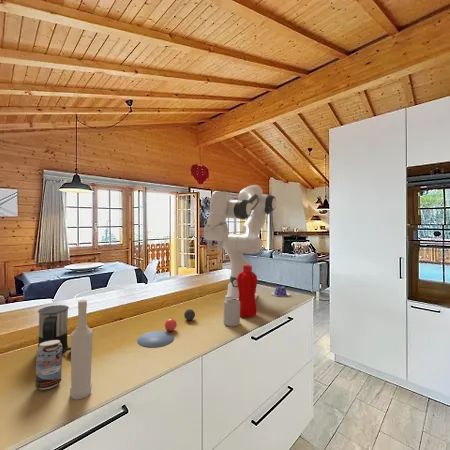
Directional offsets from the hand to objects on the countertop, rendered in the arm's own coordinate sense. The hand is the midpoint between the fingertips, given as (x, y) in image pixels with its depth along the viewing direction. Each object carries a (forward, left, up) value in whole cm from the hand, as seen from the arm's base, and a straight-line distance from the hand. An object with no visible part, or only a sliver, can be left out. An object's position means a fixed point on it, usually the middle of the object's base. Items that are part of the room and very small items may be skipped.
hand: (214, 249), depth 133 cm
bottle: (+70, 0, -33) cm, 77 cm away
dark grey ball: (+12, -5, -30) cm, 33 cm away
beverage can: (+72, -11, -33) cm, 80 cm away
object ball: (+26, -5, -30) cm, 40 cm away
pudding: (-55, +20, -33) cm, 67 cm away
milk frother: (+58, -26, -33) cm, 72 cm away
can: (+6, +14, -33) cm, 36 cm away
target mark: (+35, -5, -32) cm, 48 cm away
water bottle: (-8, +16, -33) cm, 37 cm away
